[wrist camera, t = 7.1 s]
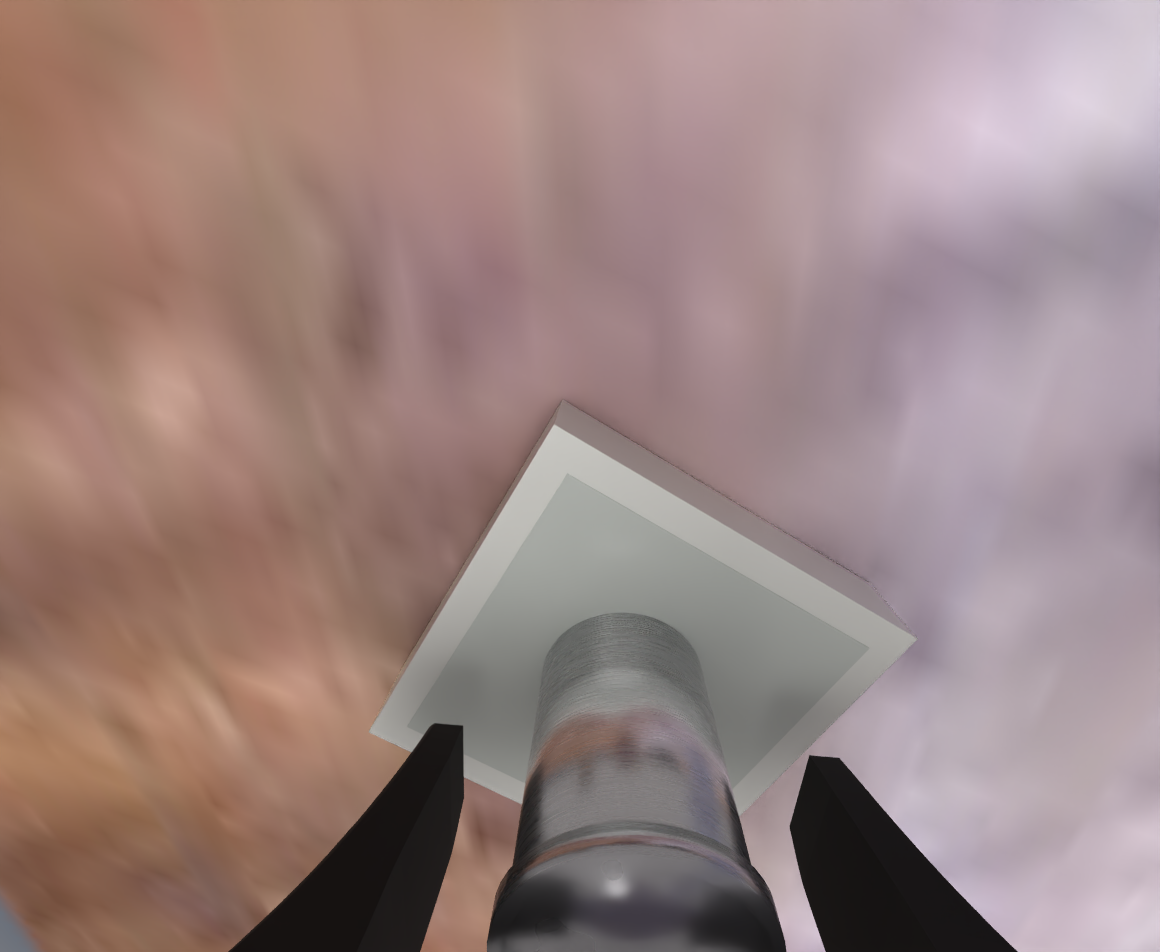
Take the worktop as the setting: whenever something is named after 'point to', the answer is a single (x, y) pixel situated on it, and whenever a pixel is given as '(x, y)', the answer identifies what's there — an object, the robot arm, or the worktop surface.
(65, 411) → the worktop surface
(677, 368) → the worktop surface
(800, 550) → the base slab
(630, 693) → the jigger
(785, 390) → the worktop surface
